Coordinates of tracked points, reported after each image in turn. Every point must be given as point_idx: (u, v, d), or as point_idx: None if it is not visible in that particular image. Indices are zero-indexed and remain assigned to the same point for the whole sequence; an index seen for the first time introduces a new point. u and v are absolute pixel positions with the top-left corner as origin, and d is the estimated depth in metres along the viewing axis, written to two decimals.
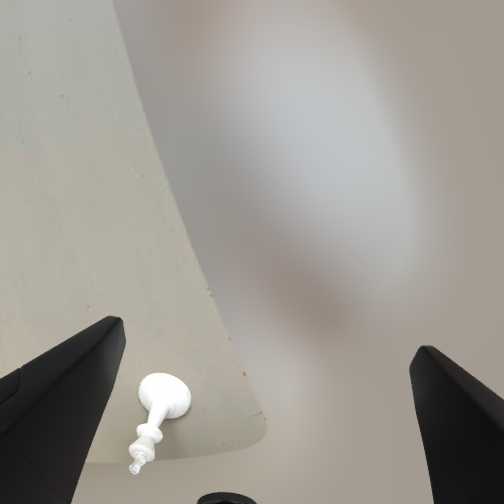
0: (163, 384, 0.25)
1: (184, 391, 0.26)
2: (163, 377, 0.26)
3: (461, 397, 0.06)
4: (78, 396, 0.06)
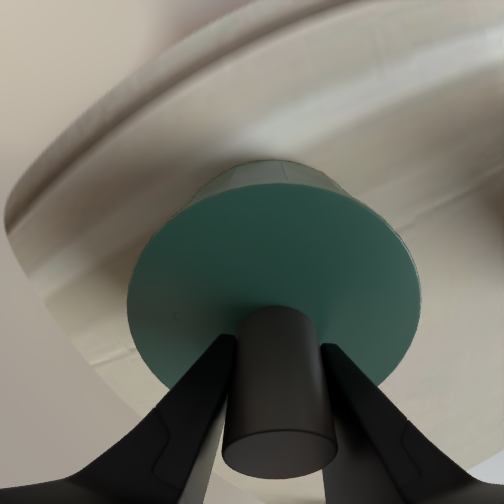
0: None
1: None
2: None
3: (347, 406, 0.06)
4: (216, 426, 0.06)
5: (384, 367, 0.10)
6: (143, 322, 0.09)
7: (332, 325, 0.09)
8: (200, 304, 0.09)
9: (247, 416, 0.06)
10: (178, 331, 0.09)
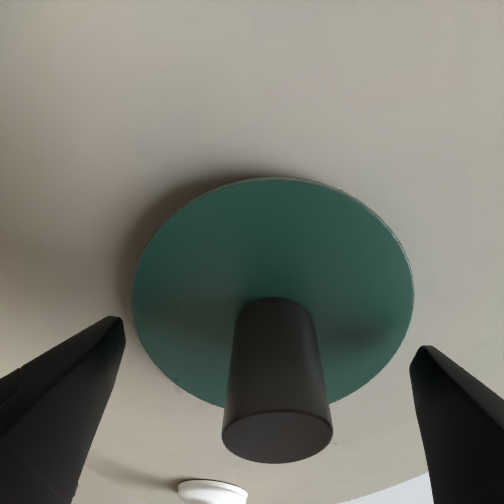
0: None
1: None
2: None
3: (461, 397, 0.06)
4: (78, 396, 0.06)
5: (379, 358, 0.10)
6: (146, 314, 0.10)
7: (328, 316, 0.09)
8: (201, 296, 0.09)
9: (246, 398, 0.06)
10: (180, 322, 0.10)
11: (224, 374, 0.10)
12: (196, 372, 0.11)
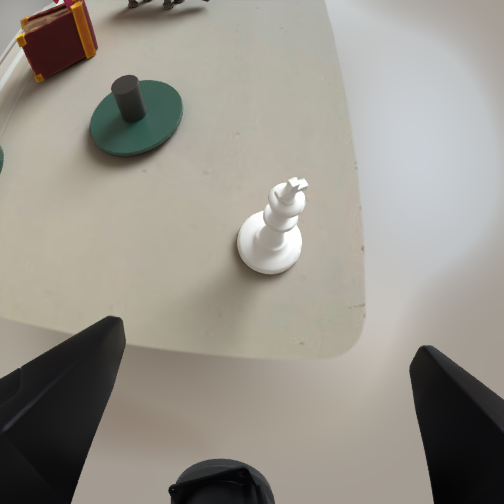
0: None
1: (300, 237, 0.24)
2: None
3: (461, 397, 0.06)
4: (78, 396, 0.06)
5: (171, 92, 0.27)
6: (103, 141, 0.25)
7: None
8: (111, 124, 0.26)
9: None
10: (112, 134, 0.25)
11: (138, 133, 0.25)
12: (131, 141, 0.25)
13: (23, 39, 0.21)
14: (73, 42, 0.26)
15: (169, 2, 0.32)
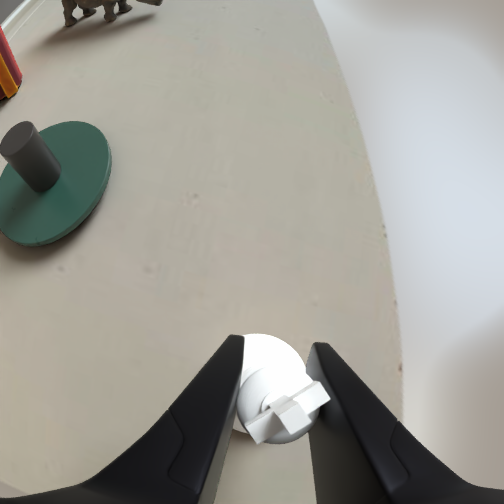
0: (277, 349, 0.14)
1: None
2: None
3: (336, 406, 0.06)
4: (228, 427, 0.06)
5: (96, 138, 0.17)
6: (6, 224, 0.15)
7: (57, 153, 0.17)
8: (16, 196, 0.16)
9: None
10: (18, 212, 0.16)
11: (48, 209, 0.16)
12: (39, 223, 0.15)
13: None
14: None
15: (111, 12, 0.24)
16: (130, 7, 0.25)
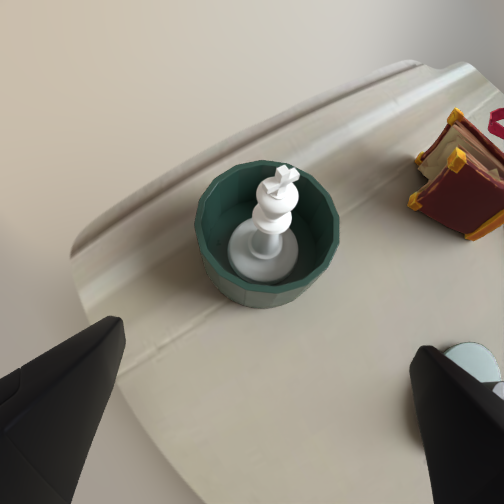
0: None
1: (297, 243, 0.22)
2: None
3: (461, 397, 0.06)
4: (78, 396, 0.06)
5: None
6: None
7: None
8: None
9: (489, 388, 0.16)
10: None
11: None
12: None
13: (460, 165, 0.18)
14: (480, 219, 0.21)
15: None
16: None
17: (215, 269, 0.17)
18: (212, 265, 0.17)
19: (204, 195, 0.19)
